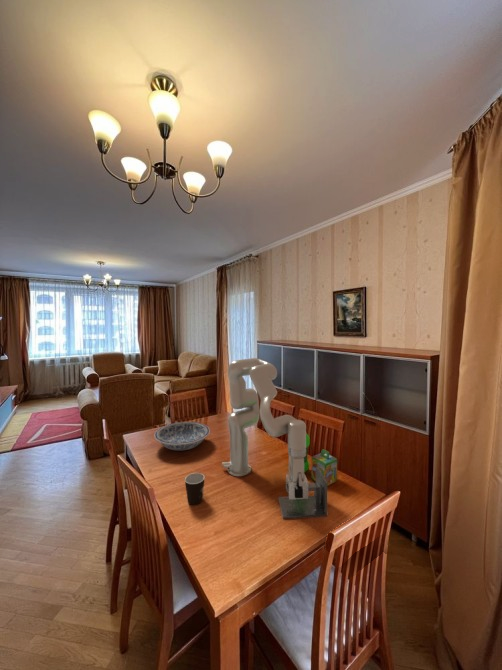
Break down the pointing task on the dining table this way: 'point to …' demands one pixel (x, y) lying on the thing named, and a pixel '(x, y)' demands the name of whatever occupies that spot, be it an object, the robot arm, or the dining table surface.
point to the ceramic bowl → (182, 435)
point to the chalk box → (325, 466)
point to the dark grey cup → (194, 488)
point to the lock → (292, 487)
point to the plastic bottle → (306, 462)
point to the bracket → (307, 501)
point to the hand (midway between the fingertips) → (296, 491)
